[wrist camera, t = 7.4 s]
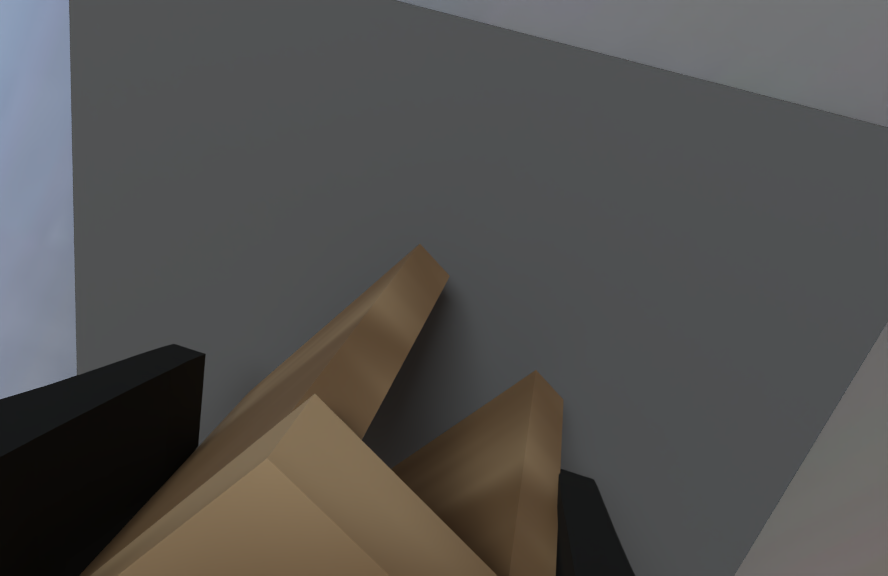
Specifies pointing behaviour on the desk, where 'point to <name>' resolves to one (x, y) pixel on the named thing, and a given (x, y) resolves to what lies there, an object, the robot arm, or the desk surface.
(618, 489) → the charcoal mat
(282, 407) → the oak stool
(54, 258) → the desk surface
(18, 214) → the desk surface
